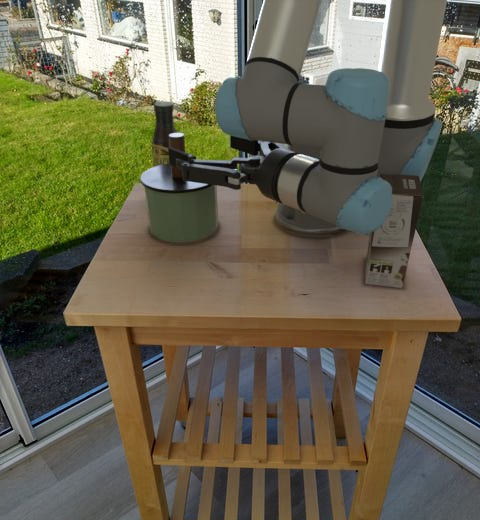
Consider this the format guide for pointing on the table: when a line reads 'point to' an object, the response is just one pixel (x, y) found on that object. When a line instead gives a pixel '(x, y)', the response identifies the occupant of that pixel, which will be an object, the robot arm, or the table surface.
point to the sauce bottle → (162, 132)
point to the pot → (182, 214)
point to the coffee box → (395, 233)
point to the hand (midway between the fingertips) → (202, 147)
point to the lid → (170, 173)
